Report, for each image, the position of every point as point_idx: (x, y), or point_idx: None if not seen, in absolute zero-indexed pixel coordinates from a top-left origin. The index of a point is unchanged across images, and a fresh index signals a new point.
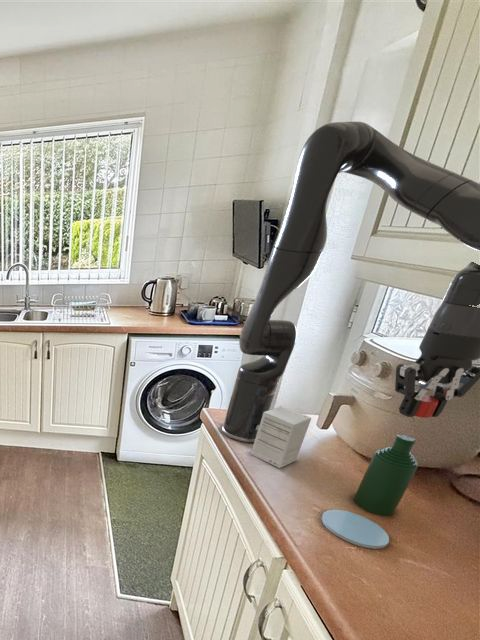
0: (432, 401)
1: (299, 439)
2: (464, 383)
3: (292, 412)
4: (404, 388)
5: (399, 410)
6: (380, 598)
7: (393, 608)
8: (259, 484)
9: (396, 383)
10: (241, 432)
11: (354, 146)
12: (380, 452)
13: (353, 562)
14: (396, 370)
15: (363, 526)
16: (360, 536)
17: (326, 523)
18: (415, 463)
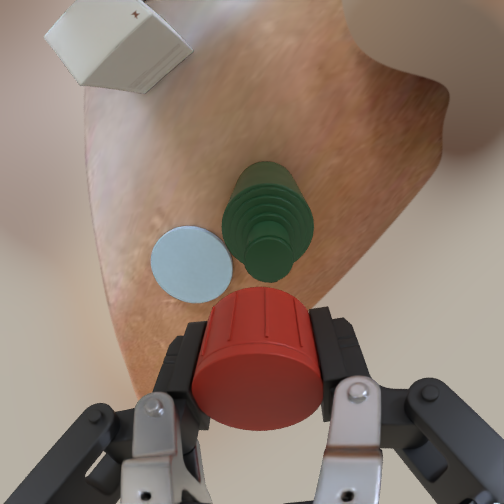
0: (267, 425)
1: (153, 53)
2: (430, 487)
3: (112, 1)
4: (104, 451)
5: (176, 339)
6: None
7: None
8: (91, 168)
9: (60, 446)
10: None
11: None
12: (231, 219)
13: (162, 323)
14: (10, 498)
15: (203, 266)
16: (186, 288)
17: (151, 266)
18: (294, 258)
